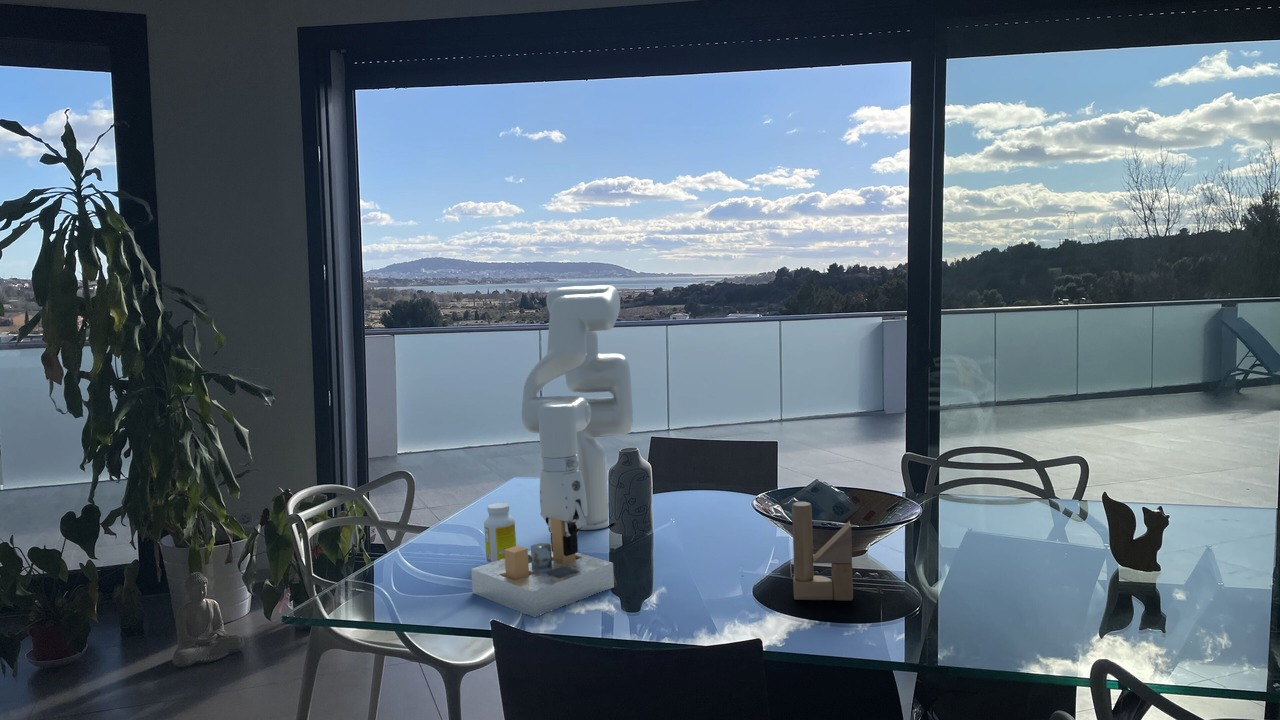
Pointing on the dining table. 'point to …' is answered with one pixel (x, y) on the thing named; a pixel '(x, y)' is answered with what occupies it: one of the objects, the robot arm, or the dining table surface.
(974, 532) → the dining table surface
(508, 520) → the supplement bottle
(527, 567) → the tall tan wooden post
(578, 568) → the grey peg hole board
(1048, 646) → the dining table surface
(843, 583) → the wooden block structure
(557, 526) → the tan square prism
